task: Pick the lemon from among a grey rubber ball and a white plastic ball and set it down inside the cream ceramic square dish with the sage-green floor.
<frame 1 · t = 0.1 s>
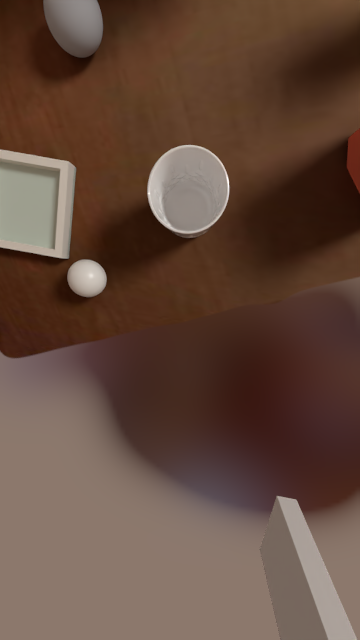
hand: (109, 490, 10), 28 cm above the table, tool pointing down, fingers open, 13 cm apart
white plastic ball: (94, 277, 37), on the table
grey rubber ball: (85, 41, 31), on the table
white cup: (189, 212, 34), on the table
square dish: (30, 207, 35), on the table
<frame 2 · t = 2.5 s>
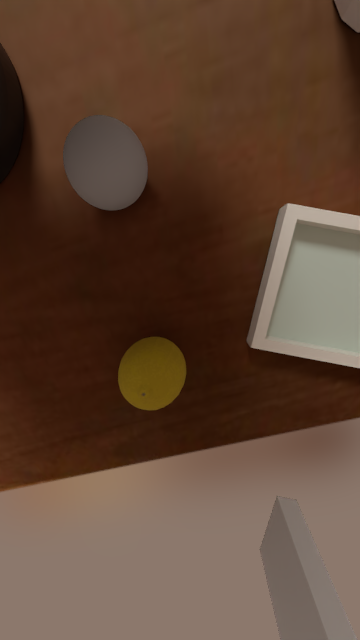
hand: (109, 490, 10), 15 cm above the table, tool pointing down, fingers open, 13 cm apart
grey rubber ball: (119, 179, 22), on the table
square dish: (327, 290, 23), on the table
lemon: (159, 353, 25), on the table
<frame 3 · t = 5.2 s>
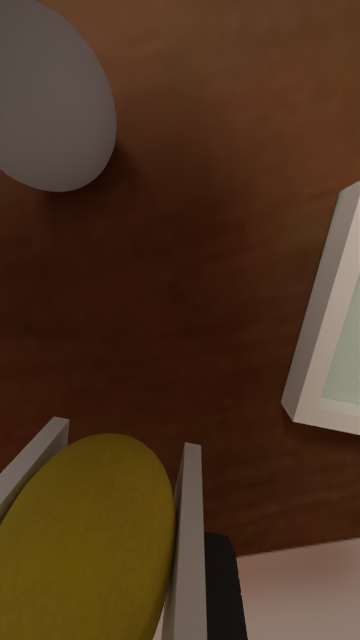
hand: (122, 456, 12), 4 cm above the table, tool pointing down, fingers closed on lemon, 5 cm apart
grey rubber ball: (76, 146, 13), on the table
lemon: (126, 446, 13), point 3 cm above the table, touching gripper
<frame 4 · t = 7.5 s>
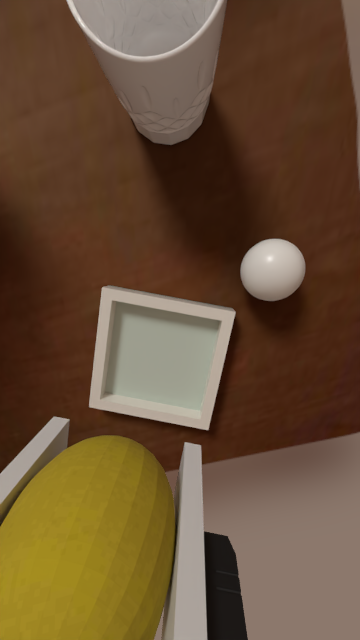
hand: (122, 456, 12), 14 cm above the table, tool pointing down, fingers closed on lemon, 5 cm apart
white plastic ball: (263, 270, 23), on the table
white cup: (167, 101, 21), on the table
square dish: (160, 354, 26), on the table
lemon: (125, 448, 12), point 13 cm above the table, touching gripper
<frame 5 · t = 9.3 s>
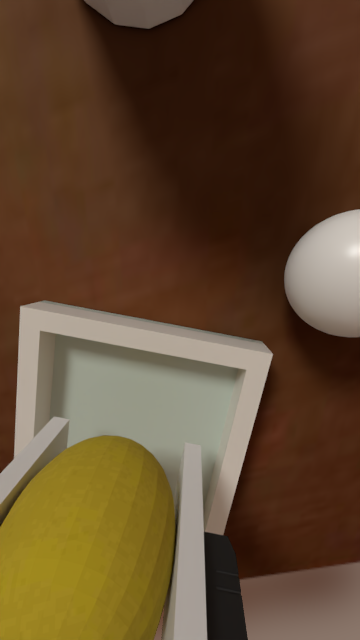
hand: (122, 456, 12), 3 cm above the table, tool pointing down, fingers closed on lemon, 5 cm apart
white plastic ball: (320, 274, 13), on the table
square dish: (137, 417, 15), on the table
lemon: (125, 448, 12), point 3 cm above the table, touching gripper
when the fingers open (3 cm above the table, at t = 10.1 s): lemon drops 2 cm, resting on square dish.
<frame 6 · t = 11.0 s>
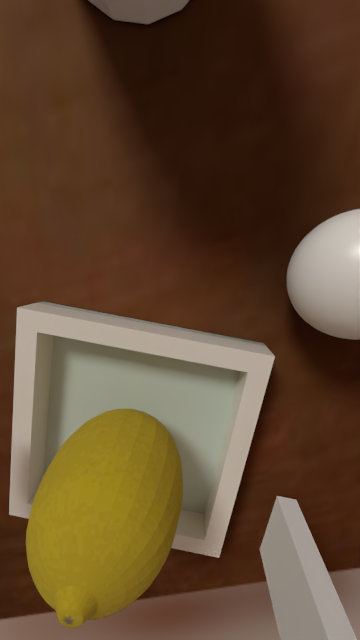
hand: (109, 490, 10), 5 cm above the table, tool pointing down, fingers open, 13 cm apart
white plastic ball: (323, 274, 12), on the table
square dish: (136, 420, 15), on the table
lemon: (137, 423, 14), resting on square dish
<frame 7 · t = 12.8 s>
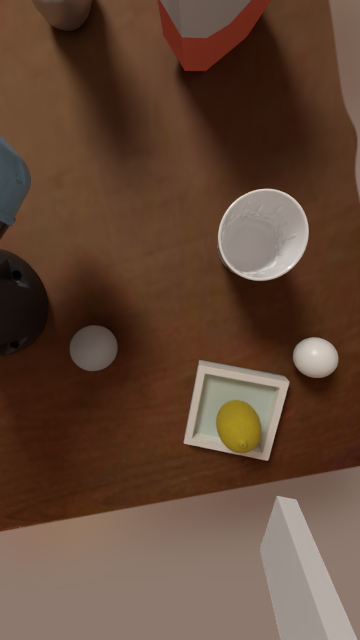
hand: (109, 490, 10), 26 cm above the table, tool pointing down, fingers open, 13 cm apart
white plastic ball: (306, 351, 34), on the table
grey rubber ball: (103, 341, 36), on the table
french fries container: (215, 37, 29), on the table
white cup: (244, 247, 33), on the table
square dish: (232, 406, 36), on the table
plastic bottle: (72, 9, 29), on the table
lemon: (233, 407, 36), resting on square dish
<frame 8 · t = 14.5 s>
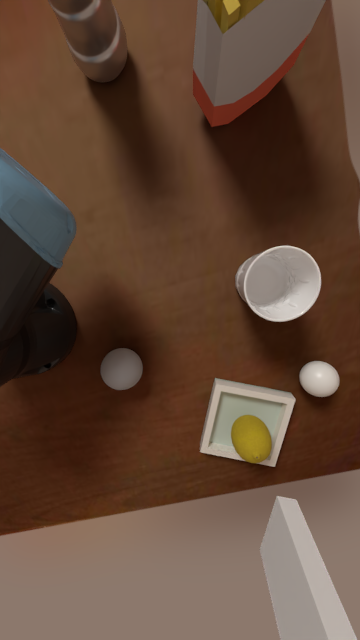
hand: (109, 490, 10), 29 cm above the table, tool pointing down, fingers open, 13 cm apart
white plastic ball: (310, 371, 38), on the table
grey rubber ball: (127, 361, 40), on the table
french fries container: (237, 93, 32), on the table
white cup: (258, 279, 36), on the table
square dish: (243, 419, 41), on the table
plastic bottle: (106, 62, 32), on the table
lemon: (244, 419, 40), resting on square dish
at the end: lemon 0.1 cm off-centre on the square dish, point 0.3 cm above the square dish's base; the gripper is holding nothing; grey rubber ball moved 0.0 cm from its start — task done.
